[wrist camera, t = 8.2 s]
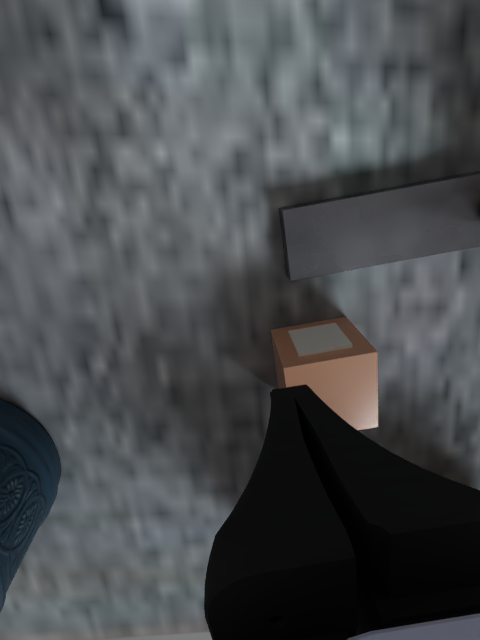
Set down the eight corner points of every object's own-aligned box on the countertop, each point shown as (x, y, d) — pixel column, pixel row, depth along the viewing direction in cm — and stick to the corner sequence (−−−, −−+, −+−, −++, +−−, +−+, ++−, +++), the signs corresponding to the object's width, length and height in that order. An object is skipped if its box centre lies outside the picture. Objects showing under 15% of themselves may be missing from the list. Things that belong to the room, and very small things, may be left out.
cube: (279, 392, 25) (293, 441, 20) (269, 326, 23) (283, 365, 18) (348, 380, 25) (378, 426, 20) (345, 313, 23) (377, 348, 18)
